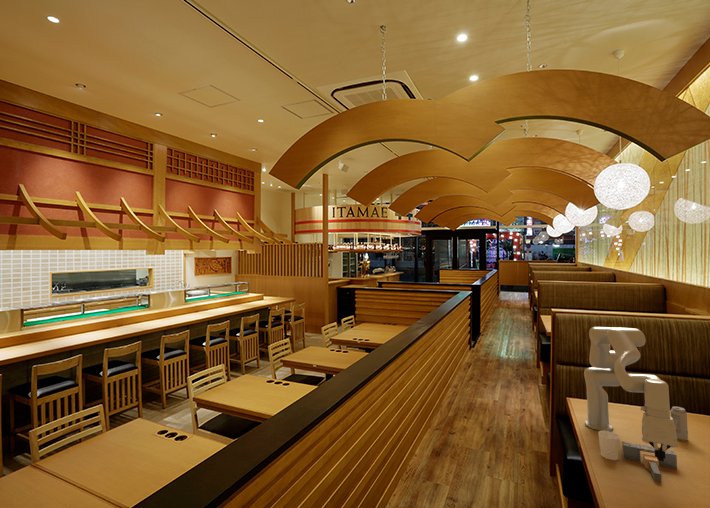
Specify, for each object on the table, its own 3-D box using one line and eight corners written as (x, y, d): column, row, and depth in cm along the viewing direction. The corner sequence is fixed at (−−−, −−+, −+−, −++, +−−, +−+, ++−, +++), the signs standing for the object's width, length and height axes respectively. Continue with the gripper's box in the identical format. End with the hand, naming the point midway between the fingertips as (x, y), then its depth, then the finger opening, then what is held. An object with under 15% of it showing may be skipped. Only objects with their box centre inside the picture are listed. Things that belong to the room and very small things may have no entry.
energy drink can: (691, 441, 176) (689, 411, 176) (677, 441, 177) (675, 410, 177) (682, 436, 182) (681, 406, 182) (669, 435, 183) (667, 405, 183)
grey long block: (622, 454, 166) (621, 441, 166) (674, 464, 157) (673, 450, 157) (623, 458, 162) (623, 445, 162) (677, 469, 153) (676, 455, 153)
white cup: (616, 453, 167) (615, 431, 167) (623, 462, 159) (622, 439, 160) (596, 451, 169) (596, 429, 170) (602, 459, 162) (601, 437, 162)
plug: (643, 463, 159) (643, 453, 159) (656, 465, 156) (655, 456, 156) (651, 480, 146) (650, 470, 146) (665, 483, 144) (664, 473, 144)
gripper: (635, 412, 142) (638, 459, 141) (685, 419, 135) (688, 469, 134) (632, 405, 148) (634, 451, 148) (679, 412, 141) (682, 459, 140)
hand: (660, 459), depth 141 cm, fingers closed
